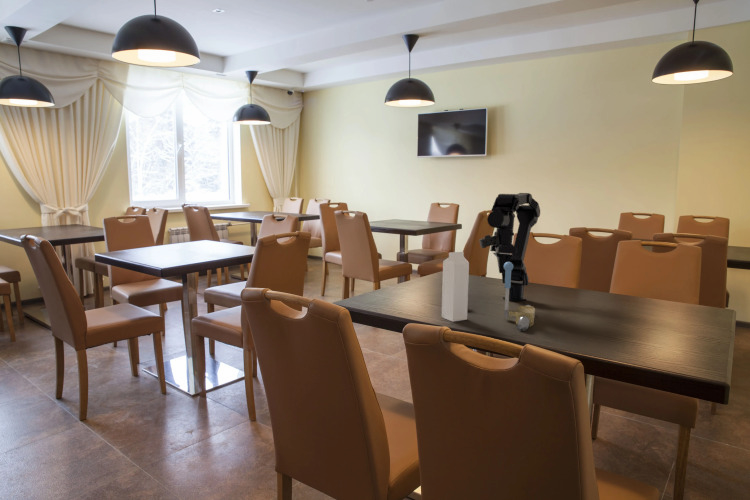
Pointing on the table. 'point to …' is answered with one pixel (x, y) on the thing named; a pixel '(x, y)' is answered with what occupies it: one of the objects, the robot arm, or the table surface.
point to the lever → (507, 285)
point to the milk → (455, 287)
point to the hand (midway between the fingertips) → (500, 273)
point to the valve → (524, 316)
